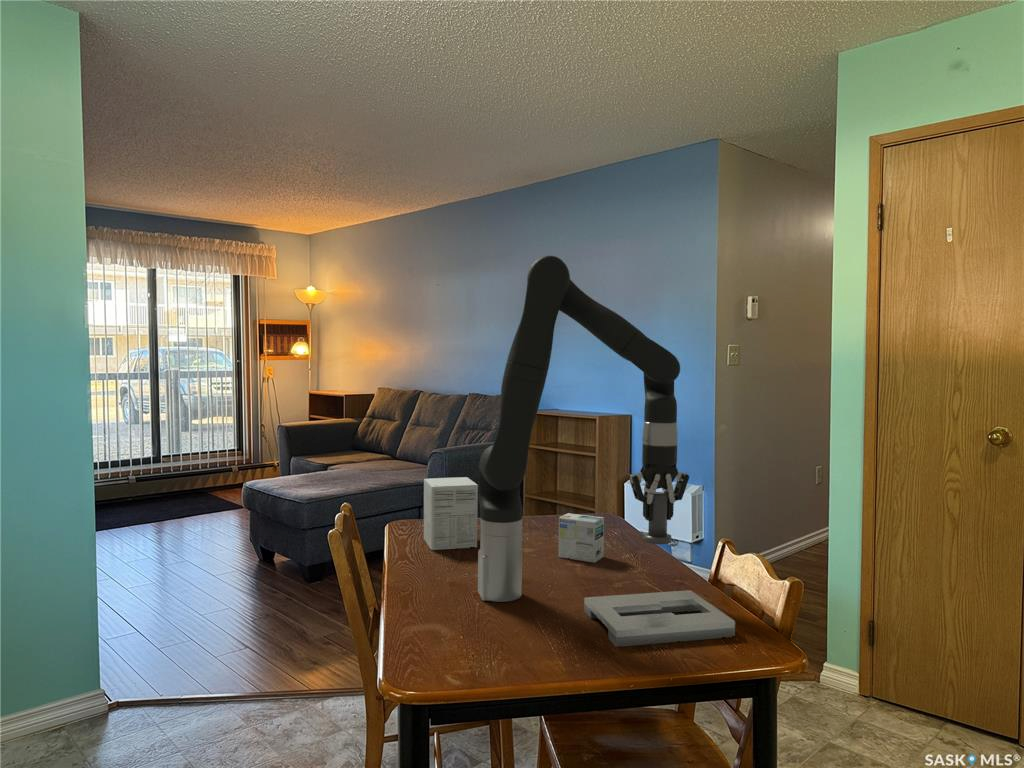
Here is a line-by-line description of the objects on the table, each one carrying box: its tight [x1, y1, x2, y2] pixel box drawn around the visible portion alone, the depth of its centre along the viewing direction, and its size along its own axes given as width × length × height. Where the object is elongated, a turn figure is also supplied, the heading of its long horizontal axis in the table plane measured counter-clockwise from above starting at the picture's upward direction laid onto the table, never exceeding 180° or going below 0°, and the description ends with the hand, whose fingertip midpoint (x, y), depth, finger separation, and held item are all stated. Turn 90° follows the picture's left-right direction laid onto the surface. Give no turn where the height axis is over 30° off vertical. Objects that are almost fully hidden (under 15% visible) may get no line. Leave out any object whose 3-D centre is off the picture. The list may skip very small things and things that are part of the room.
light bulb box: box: [557, 512, 605, 564], centre depth 186 cm, size 11×7×11 cm, turn 63°
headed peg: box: [643, 491, 672, 545], centre depth 156 cm, size 6×6×10 cm
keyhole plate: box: [583, 589, 736, 648], centre depth 140 cm, size 24×18×3 cm
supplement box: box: [423, 476, 479, 551], centre depth 198 cm, size 13×13×18 cm
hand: (658, 519), depth 156 cm, fingers closed on headed peg, 4 cm apart
